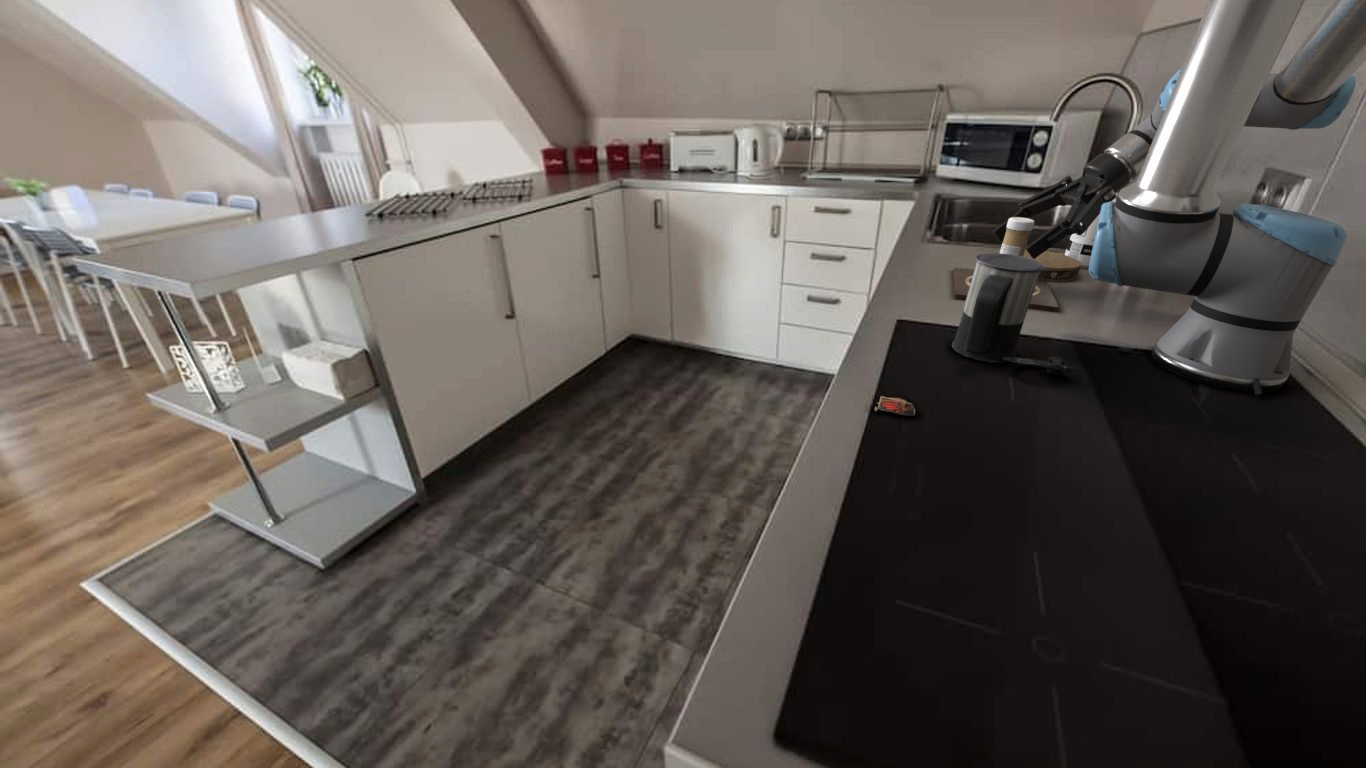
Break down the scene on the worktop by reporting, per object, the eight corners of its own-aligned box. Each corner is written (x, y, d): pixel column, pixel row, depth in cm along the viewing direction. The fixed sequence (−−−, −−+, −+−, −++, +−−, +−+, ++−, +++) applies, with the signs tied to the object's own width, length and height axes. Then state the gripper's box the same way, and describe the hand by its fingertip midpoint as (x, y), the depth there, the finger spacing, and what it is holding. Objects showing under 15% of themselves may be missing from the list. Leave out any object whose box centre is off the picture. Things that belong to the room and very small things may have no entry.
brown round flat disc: (986, 260, 136) (990, 248, 135) (1052, 262, 136) (1056, 249, 134) (1018, 280, 122) (1022, 267, 121) (1092, 282, 122) (1097, 269, 120)
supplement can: (1069, 257, 139) (1091, 195, 132) (1107, 265, 134) (1132, 200, 127) (1056, 263, 135) (1078, 199, 128) (1095, 271, 129) (1120, 204, 122)
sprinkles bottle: (1019, 286, 115) (1040, 220, 109) (1004, 289, 113) (1025, 222, 107) (999, 280, 119) (1018, 215, 112) (985, 282, 117) (1003, 217, 110)
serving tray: (1057, 312, 105) (1059, 306, 105) (954, 298, 111) (956, 293, 111) (1042, 282, 122) (1044, 277, 121) (953, 271, 128) (954, 266, 127)
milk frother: (950, 336, 94) (973, 249, 87) (1056, 351, 89) (1090, 260, 82) (953, 371, 83) (980, 274, 76) (1075, 391, 78) (1116, 289, 71)
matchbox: (917, 418, 71) (918, 414, 70) (876, 414, 71) (876, 411, 71) (910, 400, 75) (910, 396, 74) (870, 396, 75) (871, 393, 75)
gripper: (1174, 192, 94) (1055, 276, 102) (1085, 172, 116) (993, 242, 124) (1156, 158, 92) (1035, 246, 99) (1068, 144, 114) (975, 217, 121)
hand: (1011, 244), depth 112 cm, fingers open, 13 cm apart
